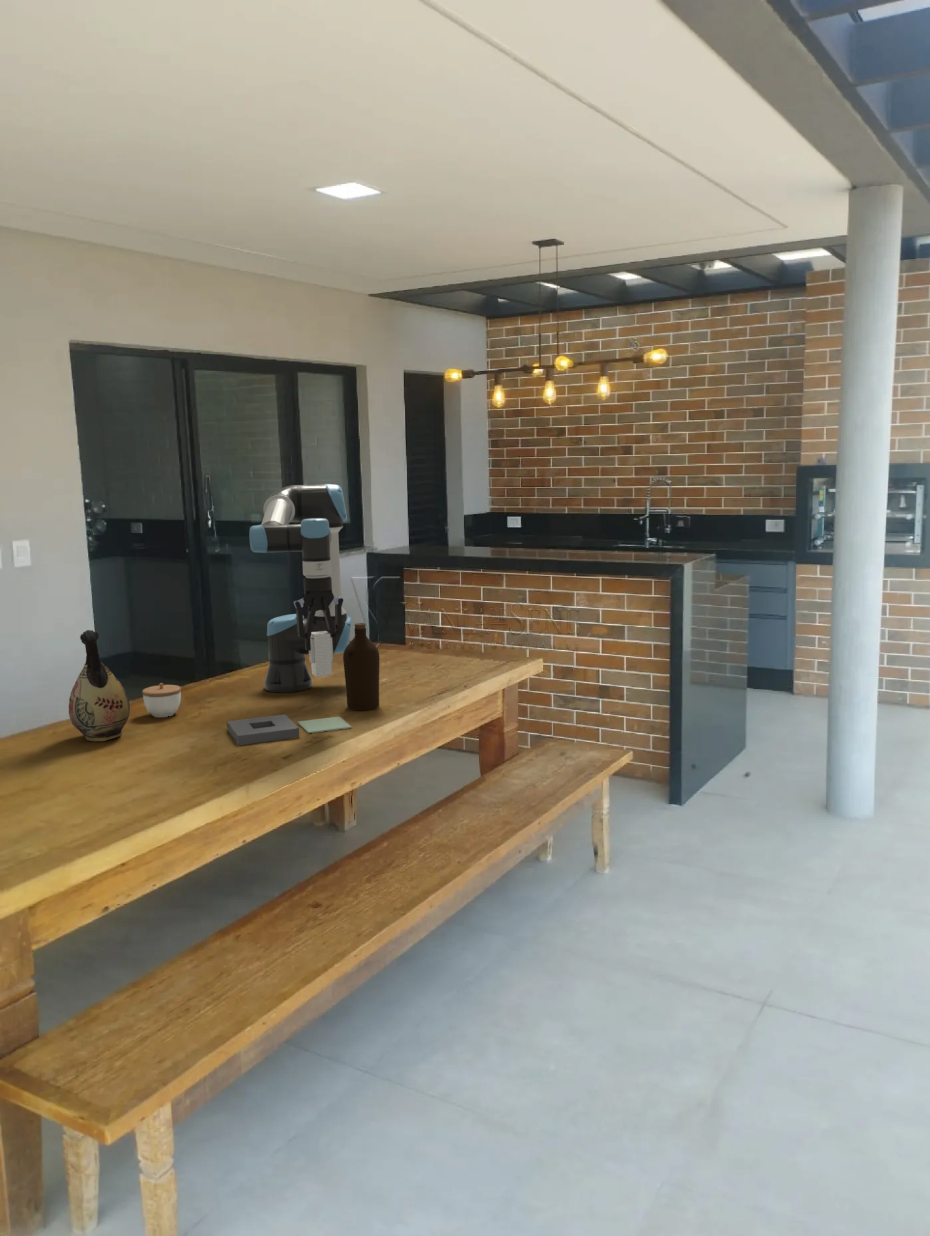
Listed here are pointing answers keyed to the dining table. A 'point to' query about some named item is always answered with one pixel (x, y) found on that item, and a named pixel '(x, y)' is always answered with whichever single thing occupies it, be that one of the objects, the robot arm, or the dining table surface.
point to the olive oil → (361, 671)
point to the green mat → (324, 725)
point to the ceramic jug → (97, 697)
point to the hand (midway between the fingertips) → (321, 660)
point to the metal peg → (321, 654)
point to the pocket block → (262, 729)
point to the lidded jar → (162, 699)
